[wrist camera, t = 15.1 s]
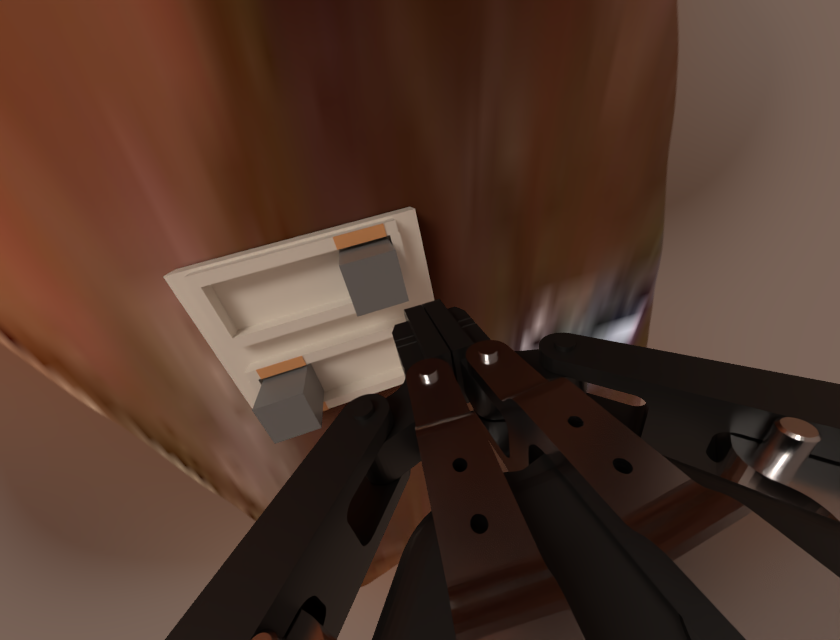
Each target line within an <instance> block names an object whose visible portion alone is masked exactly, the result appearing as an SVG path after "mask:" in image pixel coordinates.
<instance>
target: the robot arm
mask: <svg viewBox="0 0 840 640" xmlns="http://www.w3.org/2000/svg"><path fill="white" fill-rule="evenodd" d="M404 315H405V319H406V322H403V323H399V324H396V325H395V326H394V328H393V331H392V335H393V339H394V342H395V346H396V349H397V352H398V356H399V359H400V363H401V366H402V369H403V372H404V375H405V380H404V383H403V384H402V386H401V387H400V388H399V389H398V390H397V391H396V392H394V393H393V394H392V395H390V396H388V397H387V398H384V397H383V396H381V395H378V394H365V395H362V396H359V397H357V398H355V399H353V400H352V401H350V402H349V403H348V404H347V405H346V406H345V407H344V408H343V410H342V411H341V412H340V414H339V415H338V416H337V417H336V419H335V420H334V421H333V423H332V424H331V425H330V426H329V428H328V429H327V430H326V432H325V433H324V434H323V436H322V437H321V438H320V439H319V441H318V442H317V443H316V445H315V446H314V447H313V449H312V450H311V451H310V452H309V454H308V455H307V456H306V458H305V459H304V460H303V461H302V463H301V464H300V465H299V467H298V468H297V469H296V471H295V472H294V473H293V474H292V476H291V477H290V478H289V480H288V481H287V482H286V483H285V485H284V486H283V487H282V489H281V490H280V491H279V493H278V494H277V495H276V496H275V498H274V499H273V500H272V502H271V503H270V504H269V505H268V507H267V508H266V509H265V511H264V512H263V513H262V515H261V516H260V517H259V518H258V520H257V521H256V522H255V524H254V525H253V526H252V527H251V529H250V530H249V532H248V533H247V534H246V535H245V537H244V538H243V539H242V540H241V542H240V543H239V544H238V546H237V547H236V548H235V549H234V551H233V552H232V553H231V555H230V556H229V558H228V559H227V560H226V561H225V562H224V564H223V565H222V566H221V568H220V569H219V570H218V572H217V573H216V574H215V575H214V577H213V578H212V579H211V581H210V582H209V583H208V585H207V586H206V587H205V588H204V590H203V591H202V592H201V594H200V595H199V596H198V597H197V599H196V600H195V601H194V603H193V604H192V605H191V606H190V608H189V609H188V610H187V612H186V613H185V614H184V616H183V617H182V618H181V619H180V621H179V622H178V624H177V625H176V626H175V627H174V629H173V630H172V631H171V632H170V634H169V635H168V636H167V638H166V639H165V640H337V637H338V635H339V633H340V630H341V629H342V626H343V624H344V621H345V620H346V617H347V615H348V613H349V611H350V608H351V606H352V604H353V602H354V600H355V597H356V595H357V593H358V591H359V588H360V586H361V584H362V582H363V579H364V577H365V575H366V573H367V570H368V568H369V566H370V564H371V562H372V559H373V557H374V555H375V553H376V550H377V548H378V546H379V544H380V541H381V539H382V537H383V535H384V533H385V530H386V528H387V526H388V524H389V521H390V519H391V517H392V515H393V512H394V510H395V508H396V506H397V504H398V501H399V499H400V497H401V495H402V492H403V490H404V488H405V486H406V483H407V481H408V479H409V476H410V469H411V468H412V467H414V466H415V465H416V464H418V463H419V462H420V461H422V466H423V471H424V476H425V481H426V485H427V490H428V495H429V500H430V505H431V510H432V511H431V512H430V513H429V514H428V515H427V516H426V517H425V518H424V519H423V520H422V521H421V522H420V524H419V525H418V526H417V527H416V529H415V531H414V532H413V534H412V535H411V537H410V539H409V541H408V543H407V545H406V547H405V549H404V551H403V554H402V556H401V559H400V562H399V564H398V567H397V570H396V573H395V576H394V579H393V581H392V585H391V587H390V590H389V593H388V596H387V598H386V601H385V604H384V607H383V610H382V613H381V616H380V618H379V621H378V624H377V627H376V630H375V632H374V635H373V638H372V640H840V384H836V383H831V382H826V381H820V380H815V379H810V378H804V377H799V376H793V375H788V374H783V373H777V372H772V371H767V370H762V369H756V368H751V367H746V366H741V365H735V364H730V363H724V362H719V361H714V360H709V359H703V358H697V357H692V356H687V355H682V354H677V353H672V352H666V351H661V350H655V349H650V348H645V347H640V346H634V345H629V344H624V343H618V342H613V341H608V340H603V339H597V338H592V337H587V336H581V335H576V334H571V333H554V334H550V335H547V336H545V337H544V338H542V339H541V341H540V343H539V349H537V350H526V351H513V350H512V349H511V348H510V347H509V346H508V345H506V344H505V343H503V342H500V341H495V340H490V339H489V337H488V336H487V335H486V334H485V333H484V332H483V331H482V330H481V328H480V327H479V326H478V325H477V324H475V322H474V321H473V319H472V318H470V316H469V315H468V314H467V313H466V312H465V311H464V310H462V309H459V308H457V307H452V308H449V309H447V308H446V307H445V305H444V304H443V303H442V302H441V300H440V299H437V300H434V301H431V302H427V303H424V304H422V305H417V306H414V307H411V308H407V309H404ZM587 382H588V383H592V384H595V385H599V386H603V387H606V388H610V389H614V390H617V391H621V392H625V393H628V394H632V395H635V396H638V397H640V398H642V399H643V400H644V401H645V402H646V404H645V405H643V406H631V405H627V404H624V403H620V402H617V401H614V400H610V399H607V398H603V397H600V396H596V395H593V394H589V393H586V390H587ZM469 402H470V403H471V405H472V407H473V410H474V411H470V410H469V408H468V405H467V403H469ZM488 440H489V441H488ZM489 442H490V443H491V445H492V446H493V448H494V449H495V451H496V452H497V454H498V455H499V457H500V458H501V460H502V461H503V463H504V464H505V466H506V468H507V470H508V472H504V473H503V471H502V469H501V467H500V465H499V462H498V460H497V458H496V456H495V454H494V451H493V449H492V447H491V445H490V443H489Z"/></svg>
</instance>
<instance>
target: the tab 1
mask: <svg viewBox="0 0 840 640" xmlns="http://www.w3.org/2000/svg"><path fill="white" fill-rule="evenodd" d="M323 401H324V389H323V387H322V385H321V383H320V381H319V379H318V377H317V375H316V373H315V371H314V369H313V367H312V365H311V363H309V364H306V365H305V366H302V367H299V368H295V369H292V370H289V371H286V372H283V373H280V374H276V375H273V376H270V377H267V378H264V380H263V382H262V385H261V388H260V390H259V393H258V395H257V398H256V401H255V403H254V406H253V409H252V411H253V412H254V414H255V415H256V417H257V418H258V420H259V421H260V423H261V424H262V425H263V427H264V428H265V430H266V431H267V433H268V434H269V436H270V437H271V439H272V440H273V442H274V443H278V442H281V441H284V440H287V439H290V438H293V437H296V436H299V435H302V434H305V433H307V432H310V431H313V430H316V429H319V428H322V414H323Z"/></svg>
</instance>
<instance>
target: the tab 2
mask: <svg viewBox="0 0 840 640" xmlns="http://www.w3.org/2000/svg"><path fill="white" fill-rule="evenodd" d="M339 267H340V270H341V273H342V276H343V278H344V281H345V284H346V287H347V289H348V292H349V295H350V298H351V300H352V303H353V306H354V309H355V311H356V314H357V317H358V316H362V315H365V314H368V313H372V312H375V311H378V310H381V309H385V308H388V307H391V306H395V305H398V304H401V303H404V302H408V301H409V299H408V295H407V291H406V287H405V283H404V280H403V276H402V272H401V268H400V264H399V260H398V256H397V253H396V249H395V248H394V247H393V245H392V244H391V243H390V241H389V240H388V239H387V237H383V238H379V239H376V240H372V241H368V242H365V243H361V244H357V245H354V246H350V247H347V248H343V249H339Z"/></svg>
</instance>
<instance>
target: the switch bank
mask: <svg viewBox="0 0 840 640" xmlns="http://www.w3.org/2000/svg"><path fill="white" fill-rule="evenodd" d="M383 237H387V239H388V240H389V241H390V243H391V244H392V245H393V247H394V248H395V249H396V253H397V256H398V260H399V264H400V268H401V272H402V276H403V280H404V283H405V287H406V291H407V295H408V299H409V301H408V302H404V303H401V304H398V305H395V306H391V307H388V308H385V309H381V310H378V311H375V312H372V313H368V314H365V315H362V316H358V317H357V314H356V311H355V309H354V306H353V303H352V300H351V298H350V295H349V292H348V289H347V287H346V284H345V281H344V278H343V276H342V273H341V270H340V267H339V249H343V248H347V247H350V246H354V245H357V244H361V243H365V242H368V241H372V240H376V239H379V238H383ZM163 277H164V279H165V280H166V282H167V283H168V285H169V286H170V288H171V289H172V291H173V292H174V293H175V295H176V296H177V298H178V299H179V301H180V302H181V304H182V305H183V307H184V308H185V310H186V311H187V313H188V314H189V316H190V317H191V319H192V320H193V322H194V323H195V325H196V326H197V328H198V329H199V331H200V332H201V333H202V335H203V336H204V338H205V339H206V341H207V342H208V344H209V345H210V347H211V348H212V350H213V351H214V353H215V354H216V356H217V357H218V359H219V360H220V362H221V363H222V365H223V366H224V368H225V369H226V371H227V372H228V374H229V375H230V376H231V378H232V379H233V381H234V382H235V384H236V385H237V387H238V388H239V390H240V391H241V393H242V394H243V396H244V397H245V399H246V400H247V402H248V403H249V405H250V406H251V408H252V409H253V406H254V403H255V401H256V398H257V395H258V393H259V390H260V388H261V385H262V382H263V380H264V378H267V377H270V376H273V375H276V374H280V373H283V372H286V371H289V370H292V369H295V368H299V367H302V366H305V365H306V364H309V363H311V365H312V367H313V369H314V371H315V373H316V375H317V377H318V379H319V381H320V383H321V385H322V387H323V389H324V401H323V411H326V410H329V408H332V407H335V406H338V405H341V404H344V403H347V402H350V401H352V400H353V399H355V398H357V397H359V396H362V395H365V394H374V393H377V392H380V391H383V390H386V389H389V388H392V387H395V386H398V385H401V384H403V383H404V380H405V375H404V372H403V369H402V366H401V363H400V359H399V356H398V352H397V349H396V346H395V342H394V339H393V335H392V331H393V328H394V326H395V325H396V324H399V323H403V322H406V319H405V315H404V309H407V308H411V307H414V306H417V305H422V304H424V303H427V302H431V301H434V296H433V291H432V286H431V282H430V277H429V272H428V268H427V263H426V258H425V253H424V249H423V244H422V239H421V235H420V230H419V225H418V221H417V216H416V211H415V209H414V208H412V207H407V208H403V209H399V210H396V211H392V212H388V213H384V214H381V215H377V216H373V217H369V218H366V219H362V220H358V221H354V222H351V223H347V224H343V225H340V226H336V227H332V228H328V229H325V230H321V231H317V232H313V233H310V234H306V235H302V236H298V237H295V238H291V239H287V240H283V241H280V242H276V243H272V244H268V245H265V246H261V247H257V248H253V249H250V250H246V251H242V252H238V253H235V254H231V255H227V256H224V257H220V258H216V259H212V260H209V261H205V262H201V263H197V264H194V265H190V266H186V267H182V268H179V269H175V270H174V271H172V272H170V273H168V274H167V275H165V276H163Z"/></svg>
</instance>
